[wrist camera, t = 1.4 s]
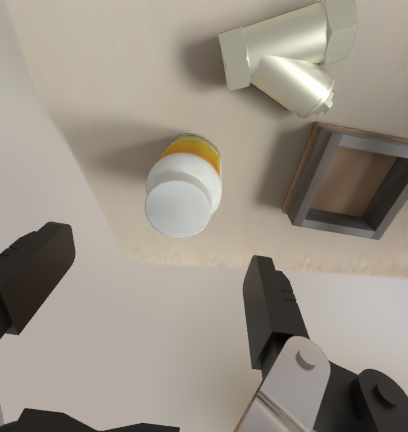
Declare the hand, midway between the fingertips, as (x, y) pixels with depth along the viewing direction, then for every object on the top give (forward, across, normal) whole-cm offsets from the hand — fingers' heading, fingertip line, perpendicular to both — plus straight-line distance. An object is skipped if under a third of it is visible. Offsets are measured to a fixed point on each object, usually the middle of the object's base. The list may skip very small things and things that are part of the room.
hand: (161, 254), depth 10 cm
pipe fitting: (+14, -6, -8) cm, 17 cm away
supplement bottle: (+14, 0, 0) cm, 14 cm away
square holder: (+13, -14, -1) cm, 20 cm away
